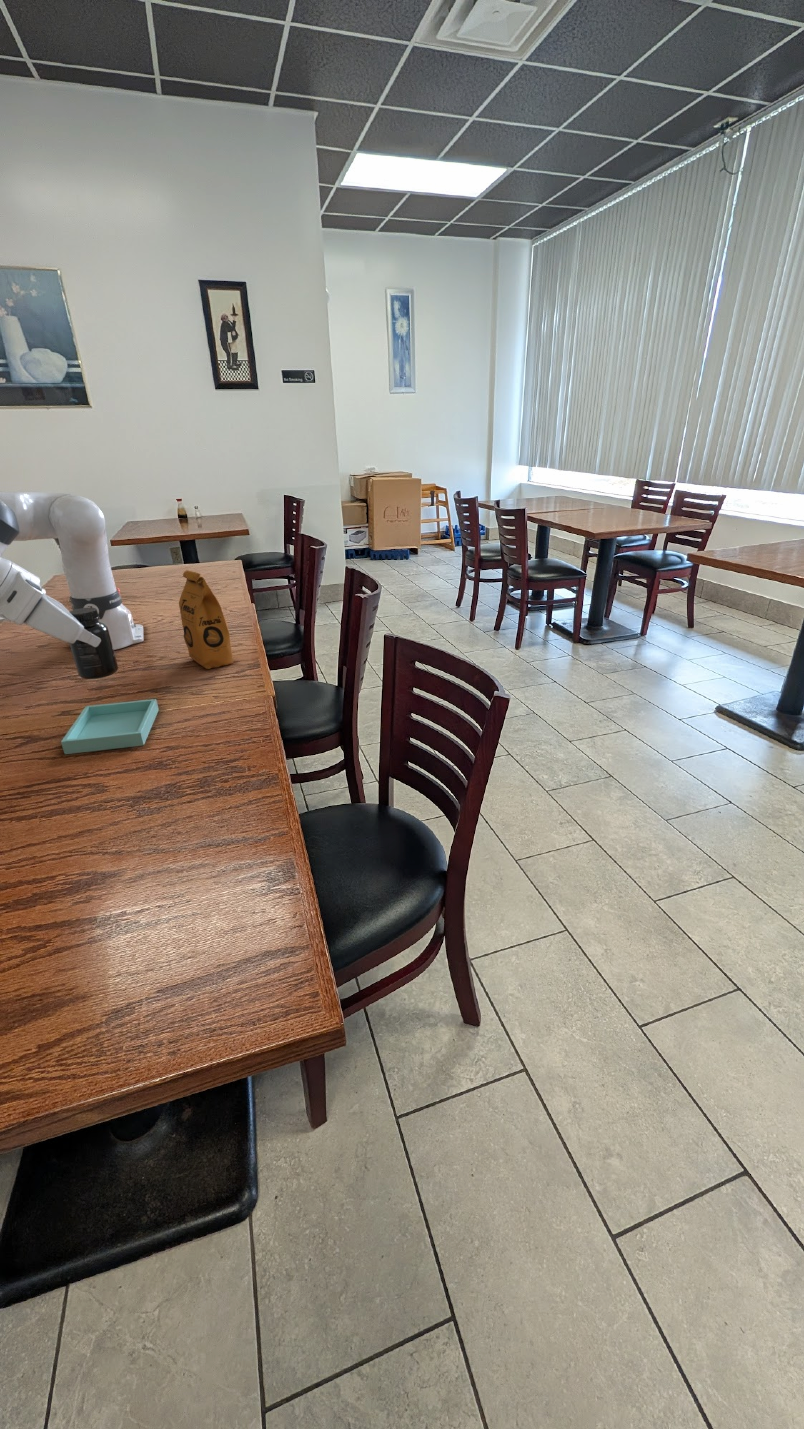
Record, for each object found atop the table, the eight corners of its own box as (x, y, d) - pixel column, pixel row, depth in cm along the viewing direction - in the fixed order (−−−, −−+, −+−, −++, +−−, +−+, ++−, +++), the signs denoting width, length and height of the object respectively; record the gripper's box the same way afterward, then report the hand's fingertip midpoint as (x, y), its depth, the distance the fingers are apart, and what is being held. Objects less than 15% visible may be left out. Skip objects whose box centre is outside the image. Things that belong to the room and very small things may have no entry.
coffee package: (198, 673, 140) (180, 581, 130) (185, 658, 149) (167, 571, 140) (239, 663, 145) (224, 574, 135) (224, 650, 154) (209, 566, 144)
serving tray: (89, 717, 119) (85, 705, 118) (158, 710, 122) (156, 698, 120) (64, 754, 106) (60, 741, 104) (143, 745, 108) (140, 732, 107)
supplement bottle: (127, 668, 111) (111, 606, 106) (99, 682, 106) (81, 617, 100) (99, 665, 113) (82, 604, 108) (70, 678, 108) (51, 614, 102)
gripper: (-4, 598, 105) (71, 638, 114) (11, 622, 90) (95, 666, 99) (17, 569, 105) (90, 611, 115) (35, 589, 90) (117, 636, 100)
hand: (93, 637), depth 107 cm, fingers closed on supplement bottle, 7 cm apart
